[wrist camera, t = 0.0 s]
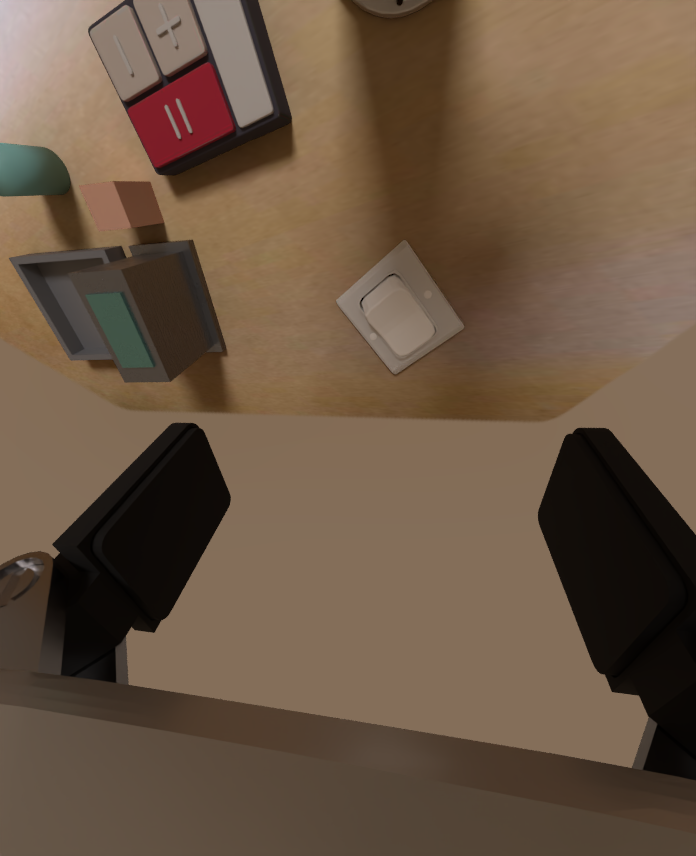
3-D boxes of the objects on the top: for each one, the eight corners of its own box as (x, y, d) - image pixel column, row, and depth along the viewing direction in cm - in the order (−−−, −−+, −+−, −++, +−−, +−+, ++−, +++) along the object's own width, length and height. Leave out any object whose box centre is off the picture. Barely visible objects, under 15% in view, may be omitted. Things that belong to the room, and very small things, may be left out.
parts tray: (29, 253, 45) (8, 257, 43) (121, 245, 43) (104, 249, 40) (85, 352, 53) (70, 360, 51) (165, 350, 51) (153, 358, 48)
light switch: (403, 239, 35) (467, 335, 39) (405, 237, 39) (464, 324, 43) (329, 306, 41) (393, 384, 45) (336, 298, 44) (395, 371, 48)
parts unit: (134, 244, 42) (49, 263, 32) (192, 239, 41) (123, 257, 31) (176, 349, 50) (119, 390, 40) (226, 348, 49) (179, 390, 39)
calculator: (77, 25, 29) (218, -81, 24) (114, 41, 33) (244, -49, 28) (152, 176, 35) (278, 115, 30) (177, 176, 38) (294, 122, 33)
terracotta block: (119, 185, 39) (78, 185, 34) (150, 181, 38) (113, 181, 33) (135, 225, 41) (98, 231, 36) (164, 222, 40) (131, 227, 36)
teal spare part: (23, 149, 38) (-44, 143, 32) (55, 144, 37) (-7, 137, 32) (46, 196, 41) (-12, 198, 35) (77, 192, 40) (23, 194, 34)
